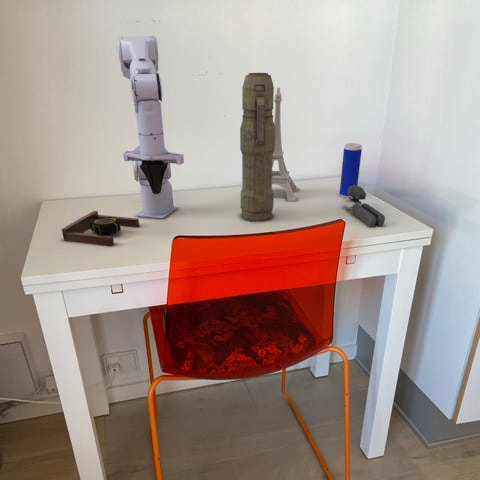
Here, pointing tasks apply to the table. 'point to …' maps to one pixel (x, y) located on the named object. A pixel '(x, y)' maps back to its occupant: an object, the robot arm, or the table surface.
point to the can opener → (362, 207)
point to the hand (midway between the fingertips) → (156, 192)
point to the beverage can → (350, 168)
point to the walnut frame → (82, 224)
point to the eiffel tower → (281, 156)
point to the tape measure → (105, 226)
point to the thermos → (257, 147)
